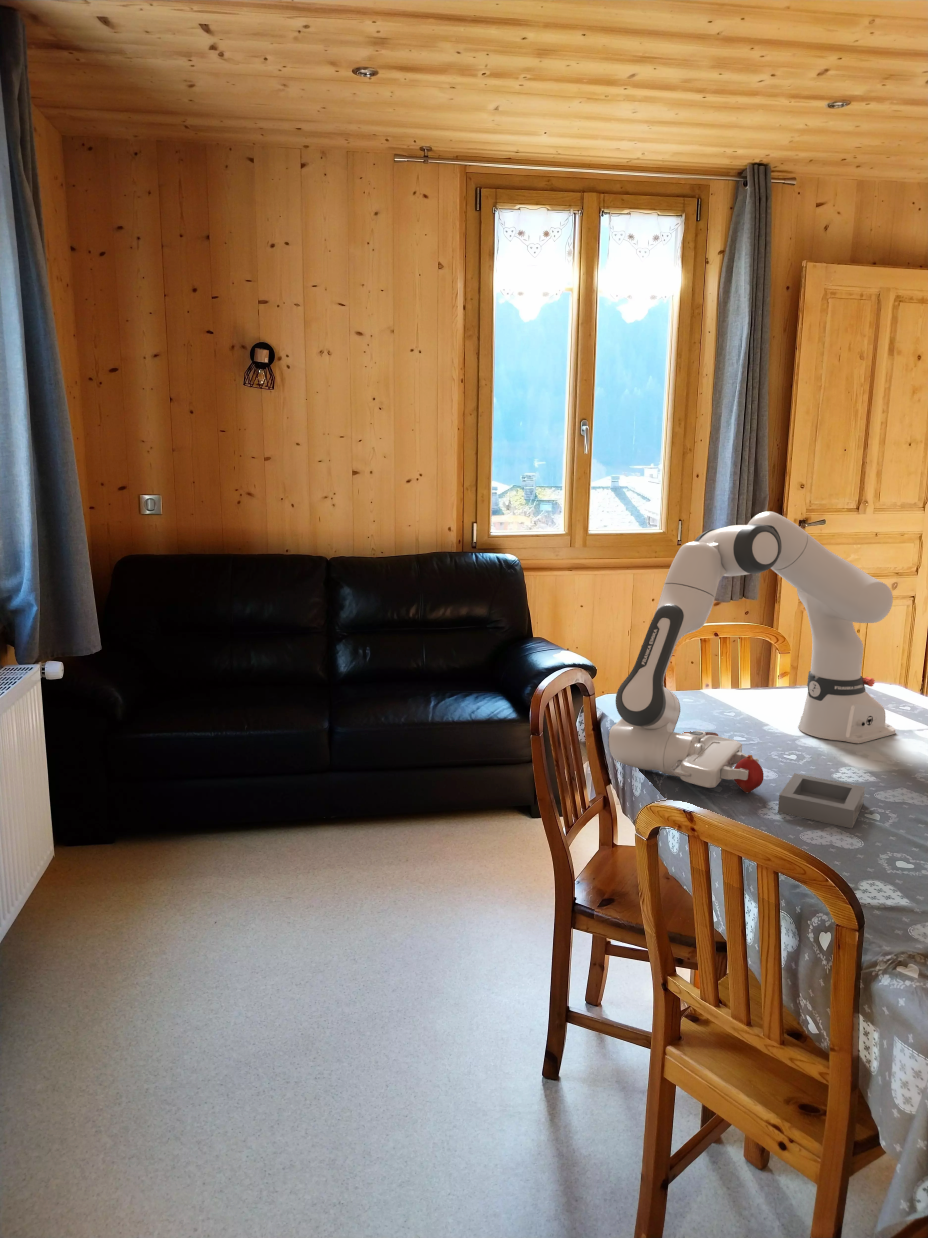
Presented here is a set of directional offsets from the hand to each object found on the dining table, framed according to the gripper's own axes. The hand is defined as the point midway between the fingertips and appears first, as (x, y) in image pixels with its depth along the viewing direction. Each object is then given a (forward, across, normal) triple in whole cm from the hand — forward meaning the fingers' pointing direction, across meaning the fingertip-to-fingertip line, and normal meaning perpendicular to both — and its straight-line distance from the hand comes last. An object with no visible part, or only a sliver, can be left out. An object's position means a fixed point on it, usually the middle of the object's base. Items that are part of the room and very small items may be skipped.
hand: (753, 769), depth 174 cm
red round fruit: (-1, 0, +5) cm, 5 cm away
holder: (+13, 0, +5) cm, 14 cm away
